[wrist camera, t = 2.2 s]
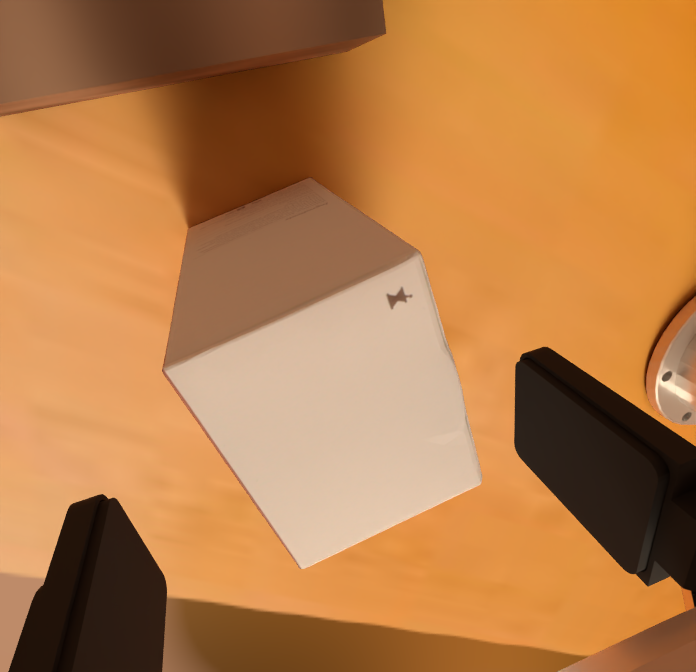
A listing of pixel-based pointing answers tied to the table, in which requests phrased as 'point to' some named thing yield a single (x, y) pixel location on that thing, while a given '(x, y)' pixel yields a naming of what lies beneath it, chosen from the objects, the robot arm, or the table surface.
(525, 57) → the table surface
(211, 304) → the small box
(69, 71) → the walnut plinth
